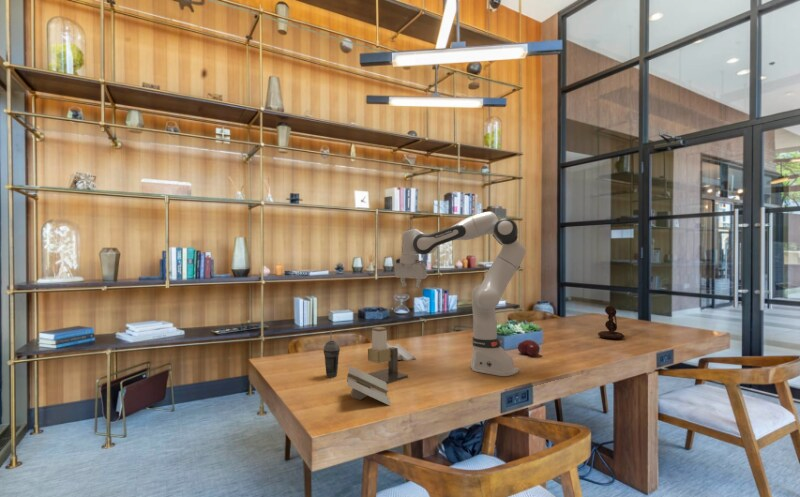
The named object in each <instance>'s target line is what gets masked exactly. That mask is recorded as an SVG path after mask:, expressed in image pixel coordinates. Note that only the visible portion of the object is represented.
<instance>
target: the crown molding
mask: <svg viewBox="0 0 800 497" xmlns="http://www.w3.org/2000/svg"><path fill="white" fill-rule="evenodd" d="M391 347H395V348H398V361H401V360H403V361H413V360H416V359H417V358H416V357H415V356H414V355H413V354H412V353H410V352H409V351H408V350H407V349H405V348H404V347H402V346H401V345H400V344H399V343H396V344H395V345H391V344H390V343H388V342H387V348H391Z"/></svg>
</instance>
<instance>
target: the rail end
mask: <svg viewBox="0 0 800 497" xmlns="http://www.w3.org/2000/svg"><path fill="white" fill-rule="evenodd" d="M387 332H388V329H387V328H386V327H383V326H377V327H372V328H371V348H372V350H375V351H382V350H387V343H388V341H387V340H388V338H387V337H388V336H387V335H388V333H387Z"/></svg>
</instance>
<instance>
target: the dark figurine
mask: <svg viewBox="0 0 800 497" xmlns="http://www.w3.org/2000/svg"><path fill="white" fill-rule="evenodd" d="M604 312H605V314H606V315H608V316H607V319H608V320H606V321H605V324H604V325H605V328H606V329H607V330H603V331H599V332H598V333H597V336H598V337H602V340H605V339H606V338H607V339H619V340H620V341H622V339H624V338H625V334H623V333H621V332H619V331H617V328H618V324H617V323H618V322H617V316H616V314H617V309H616V308H614V306H611V305H609V306H606V307H605V308H604Z"/></svg>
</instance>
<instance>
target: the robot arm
mask: <svg viewBox="0 0 800 497" xmlns="http://www.w3.org/2000/svg"><path fill="white" fill-rule="evenodd" d="M518 234H519V229H518V225H517V223H516V222H515V221H514V220H513V219H511V218H508V217H502V218H500V219H498V216H497V215H496V213H495V212H494V211H485V212H481V213H477V214H474V215H471V216H468V217H466V218H464V219H461V221H459V222H457V223H455V224H453V225H452V226H449V227H447V228H445V229H442V230H439V231H436V232H434V233H424V232H422V231H420V230H419V229H418V228H409V229H405V230H404V231H403V232H402V236H401V248H402V253H401V256H400V257H398V258H397V259H395V260H394V263H395V265H394V277H395V278H398V279H399V278H400V282H401V286H402V287H403V288H407V282H406V281H405V280H406V279H413V280H415V279H416V280H415V281H416V283H414V288H415V289H420V284H421V282H422V280H425V279H427V277H428V273H427V266H426V262H425V261H424V260H420V255H422V256H423V255H430V254H433V253H434V252H435V251H436V250H437V248H438V246H441V245H443V244H446V243H450V242H452V241H459V240H461V241H469V240H474V239H476V238H477V239H478V238H480V237H483V236H486V235H492V237H493V238H494V239H495V240H496V242H498V243H499V245H501V246H502V247H501V250H500V252H499V253H498V254H497V256H496V257H495V259H494V261H493V262H492V263H491V265H490V267H489V268H488V270H487V272H486V274H485V277H484V279H483V281H482V282H481V284H478V285H476V286H475V287H473V289H472V290H471V309H472V319H473V320H472V322H473V324H472V325H473V326H472V327H473V329H472V330H473V331H472V332H473V334H472V335H473V337H472V347H473V348H472V355H471V356H472V357H471V361H470V362H471V363H470V366H469V367H470V368H471V371H472V372H477V373H482V374H487V375H492V376H493V375H494V376H499V377H508V376H509V377H510V376H513V375H516V374H518V373H519V371H520V370H519V367H517V366H515V365H514V359H513V357H512V356H511V355H510V354H509V353H508V352H507V351H506V350H505V349H504V348H503V347H501V345H502V344H503V340H499V337H498V319H497V315H496V314H497V313H496V308H497V307H498V305H499V303H500V301H501V299H502V297H503V296H504V293H505V291H506V289H507V287H508V284H509V283H510V281H511V280H512V278H513V276H514V275H515V273H516V272H517V271H518V269H519V267H520V265H521V264H522V262H523V260H524V258H525V255H526V252H527V250H526V248H525V246H524V245H523V244H522V243H520V242H519V240H518V236H519V235H518Z"/></svg>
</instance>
